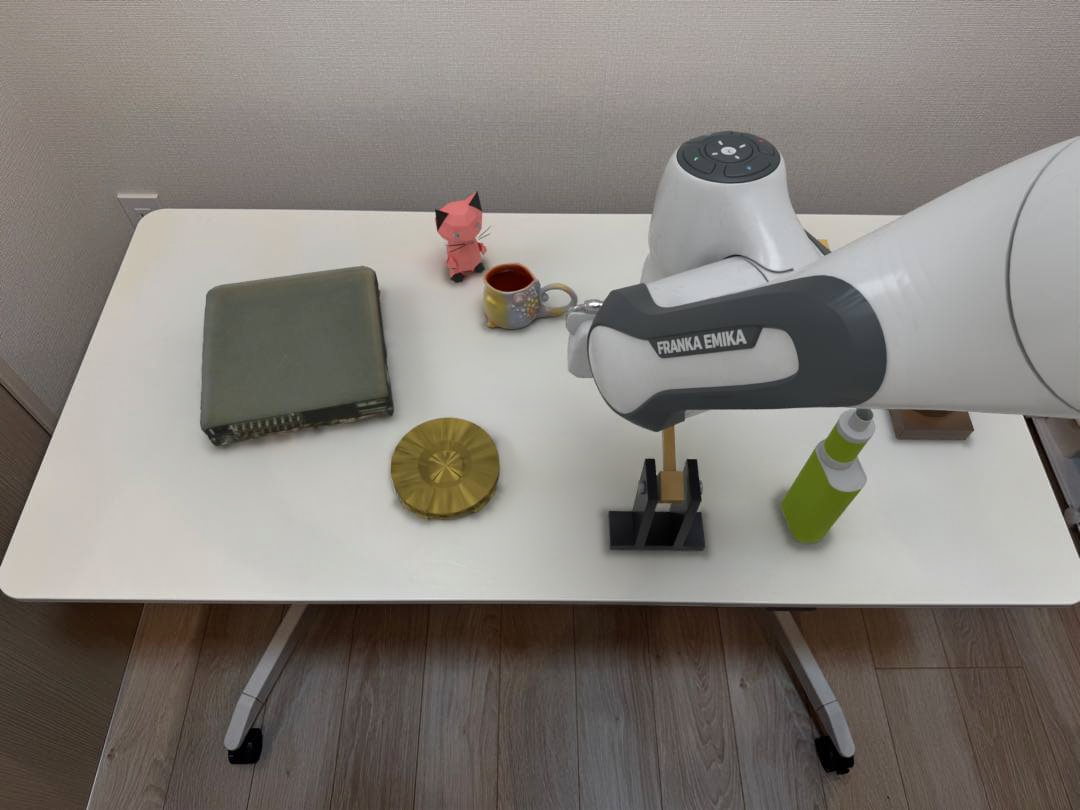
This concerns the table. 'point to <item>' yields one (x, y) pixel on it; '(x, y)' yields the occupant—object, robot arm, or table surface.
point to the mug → (518, 296)
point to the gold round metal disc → (445, 468)
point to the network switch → (293, 355)
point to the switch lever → (670, 472)
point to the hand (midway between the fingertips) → (665, 392)
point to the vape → (829, 478)
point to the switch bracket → (660, 516)
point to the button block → (931, 424)
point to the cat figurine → (462, 235)
